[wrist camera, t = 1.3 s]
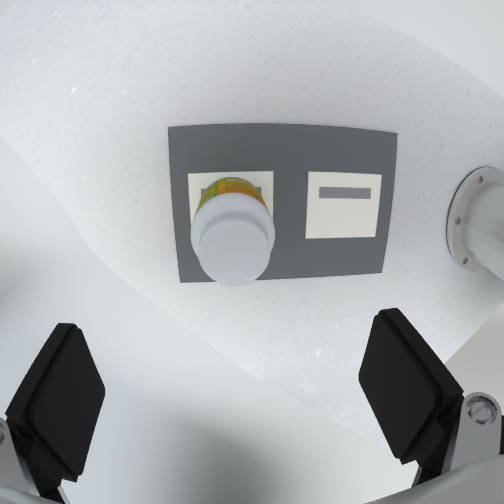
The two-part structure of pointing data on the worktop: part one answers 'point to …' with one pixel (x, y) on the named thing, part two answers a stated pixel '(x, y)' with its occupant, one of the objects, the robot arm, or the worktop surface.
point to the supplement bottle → (232, 232)
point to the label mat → (292, 192)
